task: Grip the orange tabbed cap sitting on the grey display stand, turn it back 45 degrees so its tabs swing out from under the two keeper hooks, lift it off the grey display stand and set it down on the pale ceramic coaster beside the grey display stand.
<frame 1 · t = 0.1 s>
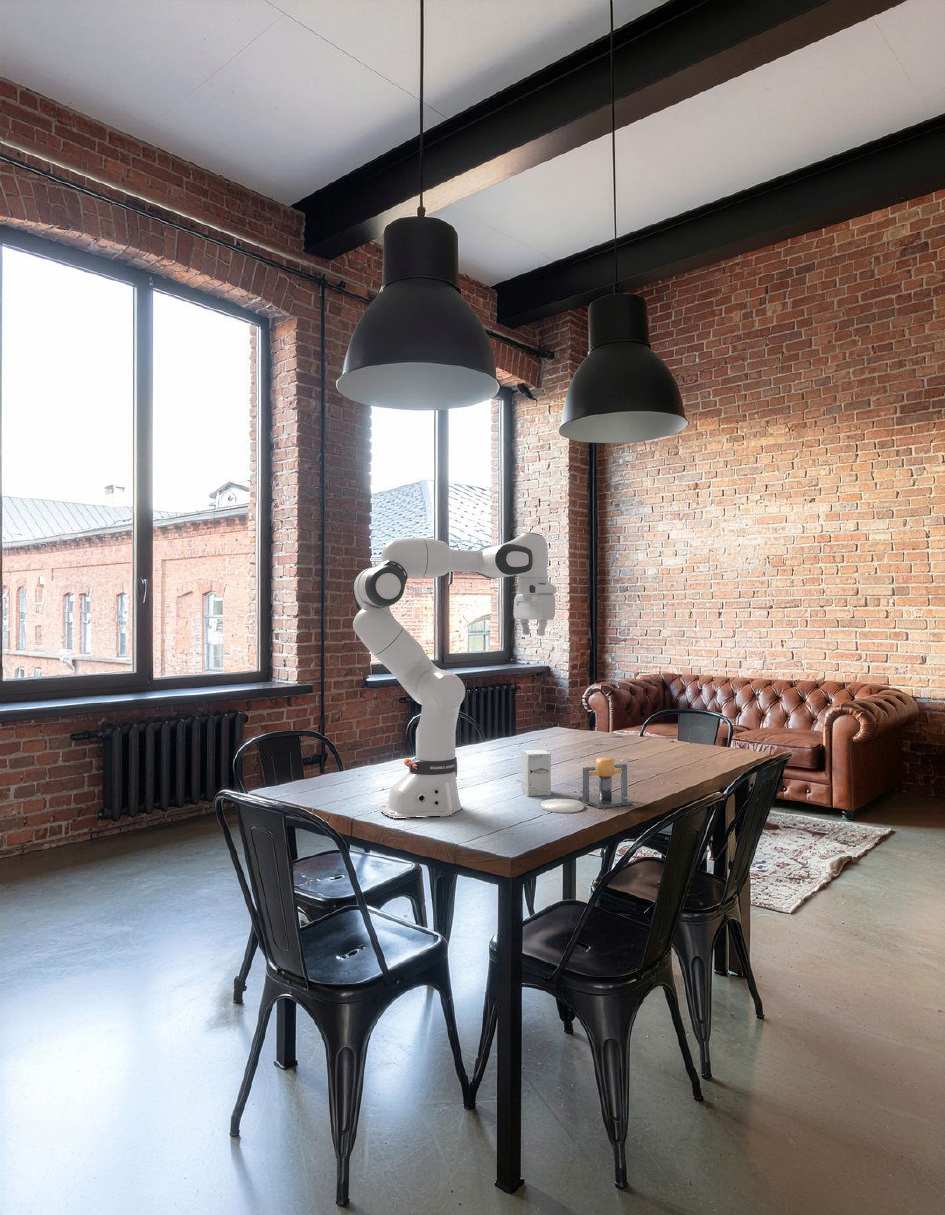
hand: (533, 635, 230), 48 cm above the table, tool pointing down, fingers open, 8 cm apart
grey display stand: (605, 802, 225), on the table
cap: (605, 774, 225), point 8 cm above the table, touching grey display stand
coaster: (562, 807, 219), on the table
supplement box: (536, 794, 236), on the table
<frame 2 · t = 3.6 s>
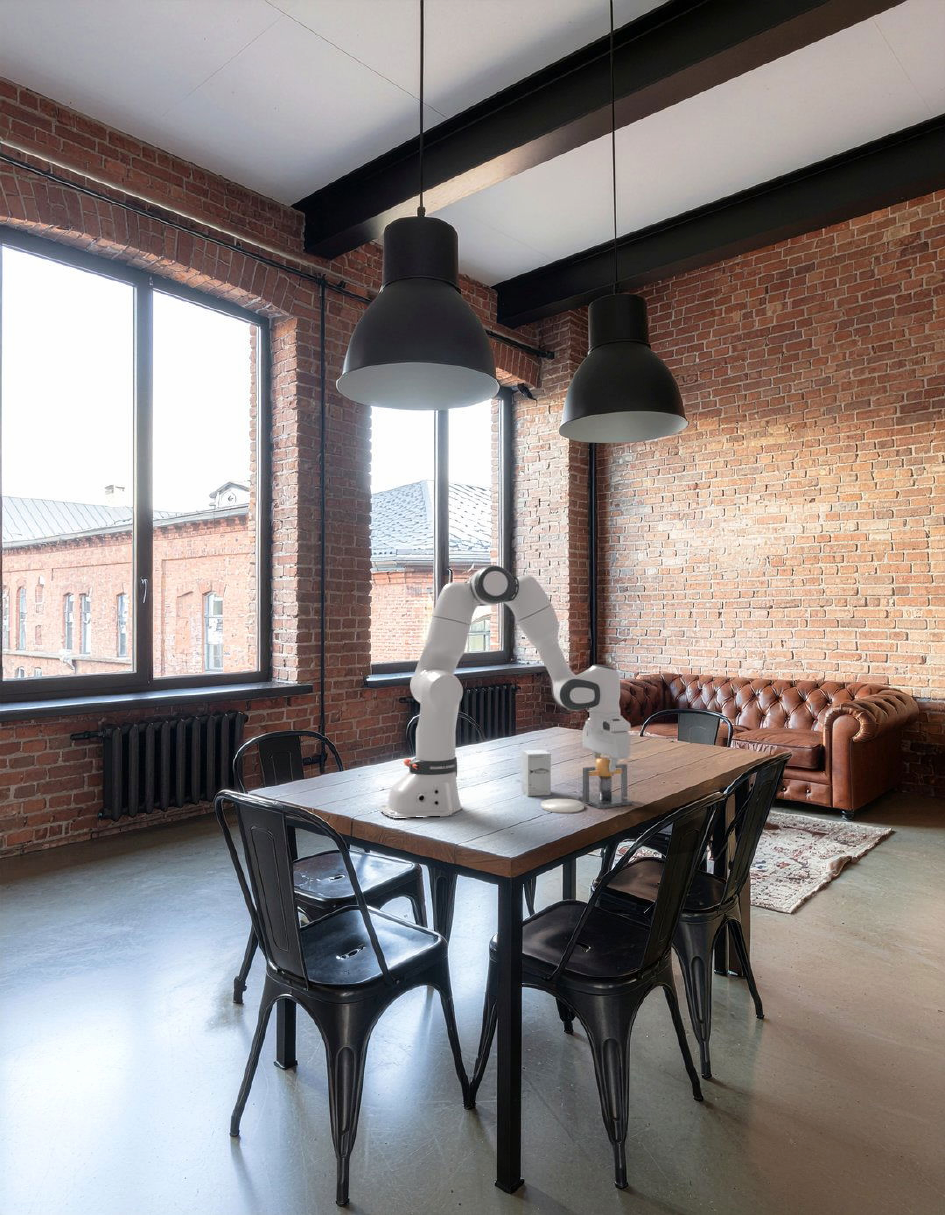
hand: (605, 769, 225), 9 cm above the table, tool pointing down, fingers closed on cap, 5 cm apart
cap: (605, 774, 225), point 8 cm above the table, touching gripper, grey display stand
everything else where it was.
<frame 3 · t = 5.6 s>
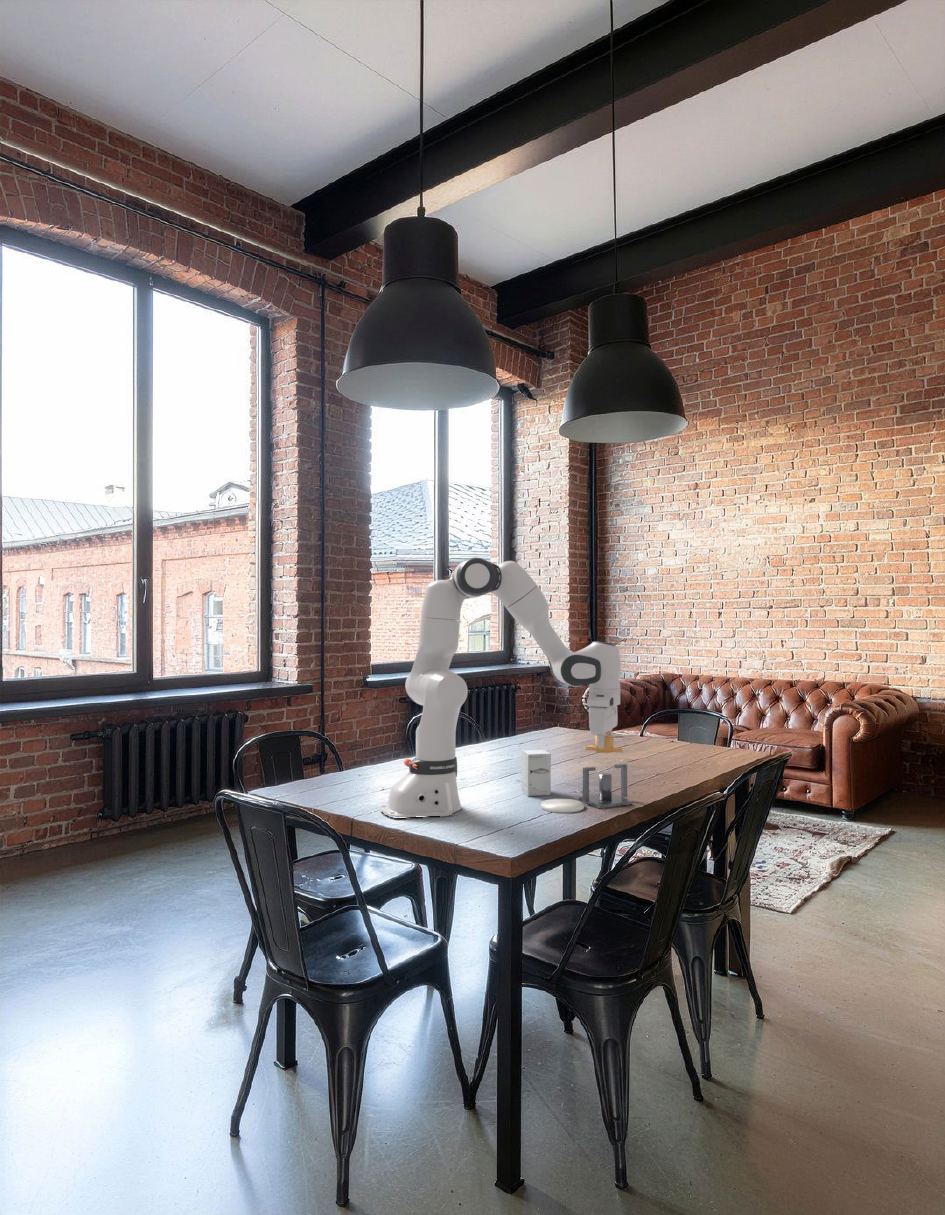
hand: (604, 746, 224), 16 cm above the table, tool pointing down, fingers closed on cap, 5 cm apart
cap: (604, 751, 224), point 15 cm above the table, touching gripper
everything else where it was.
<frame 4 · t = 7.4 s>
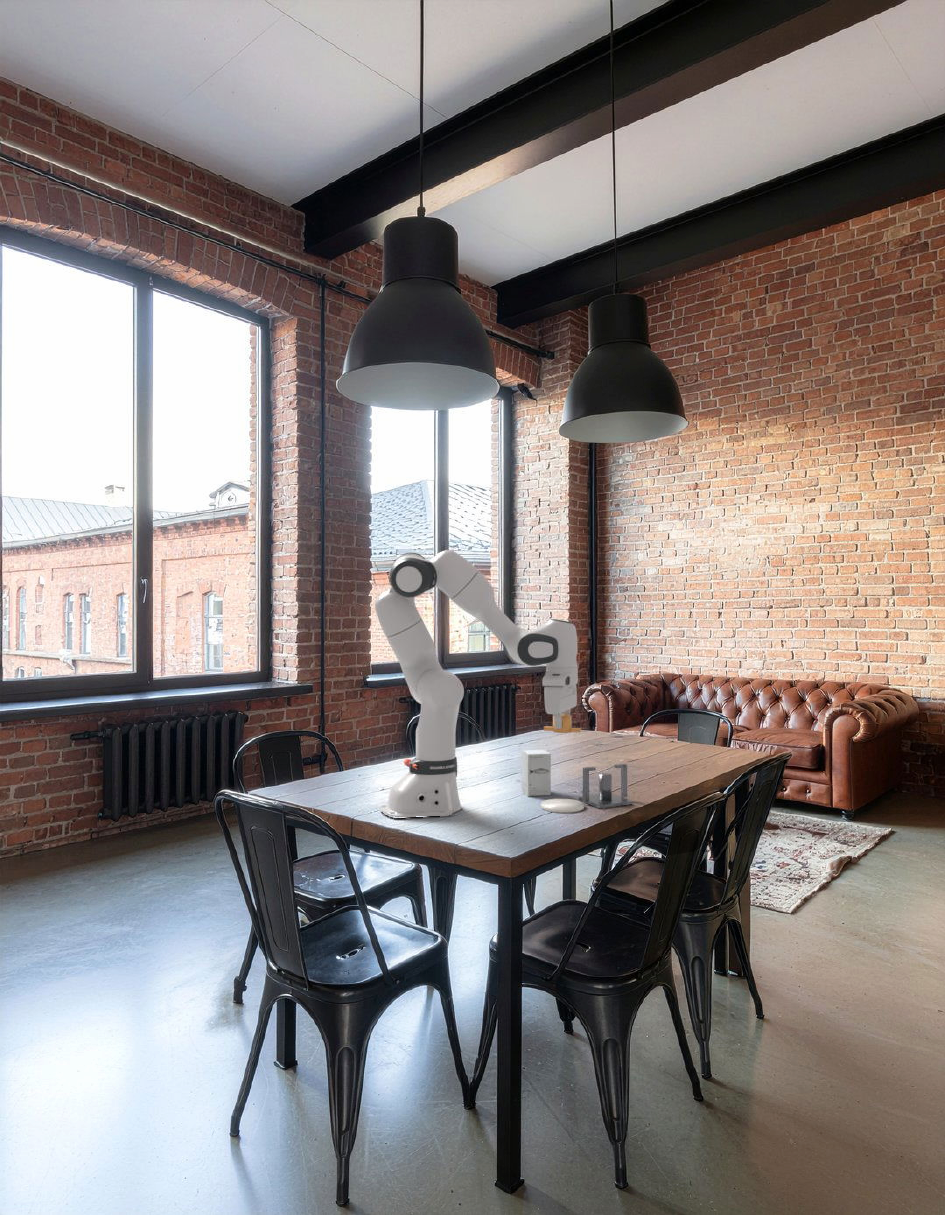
hand: (562, 726, 219), 23 cm above the table, tool pointing down, fingers closed on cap, 5 cm apart
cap: (562, 731, 219), point 21 cm above the table, touching gripper
everything else where it was.
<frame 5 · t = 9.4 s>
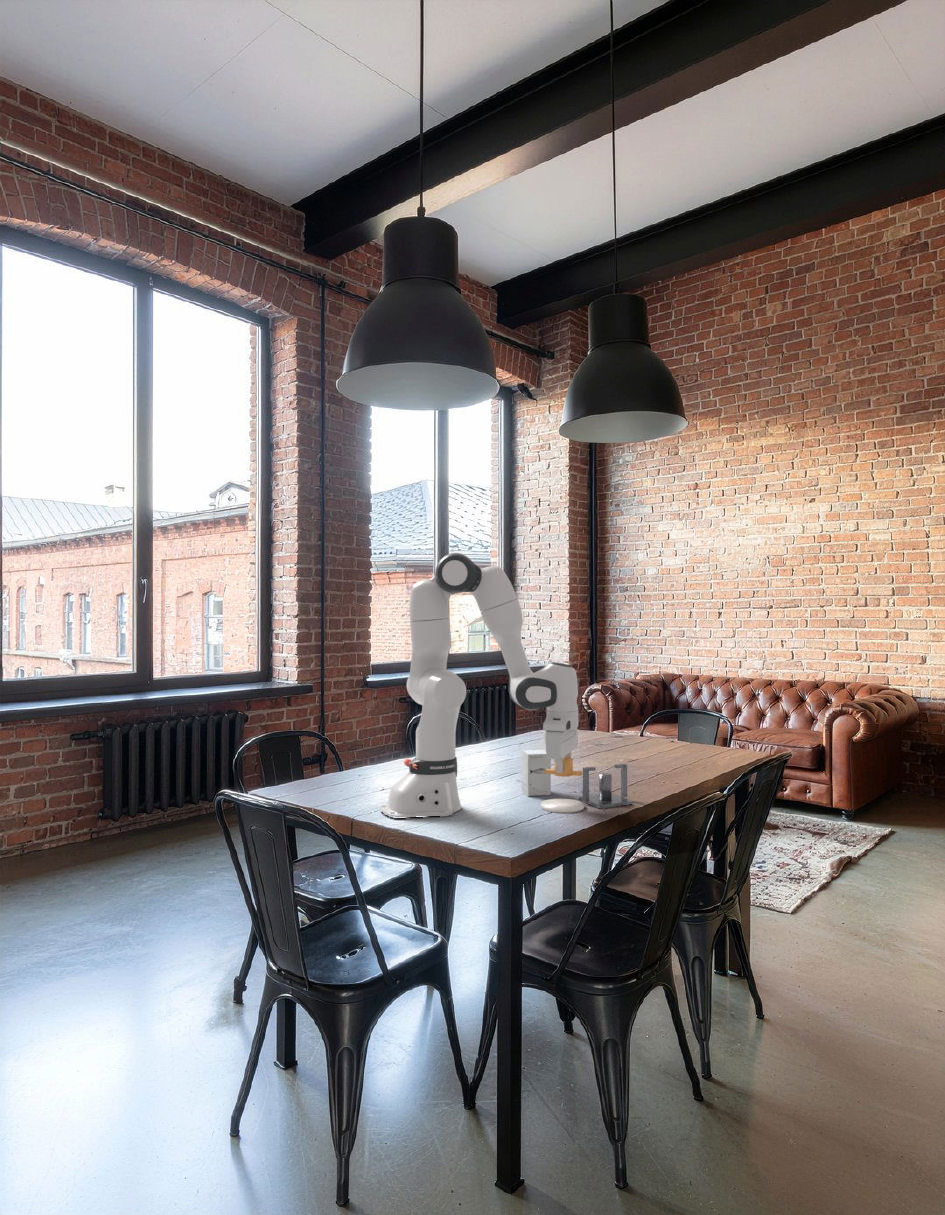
hand: (563, 769, 219), 11 cm above the table, tool pointing down, fingers closed on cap, 5 cm apart
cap: (563, 774, 219), point 9 cm above the table, touching gripper
everything else where it was.
when the fingers open (4 cm above the table, at t = 11.2 s): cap drops 2 cm, resting on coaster.
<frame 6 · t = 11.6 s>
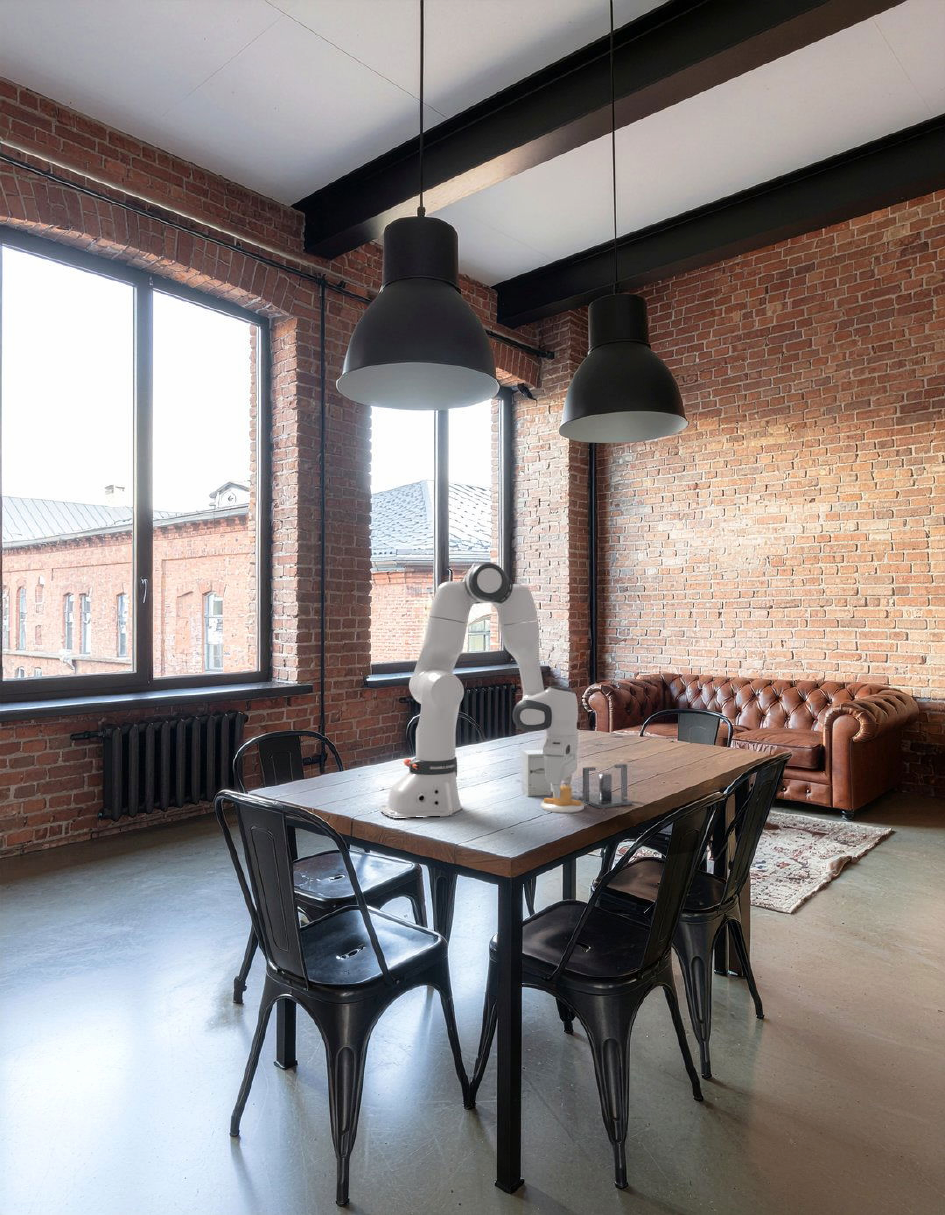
hand: (562, 793, 219), 4 cm above the table, tool pointing down, fingers open, 8 cm apart
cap: (562, 803, 219), point 1 cm above the table, touching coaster
everything else where it was.
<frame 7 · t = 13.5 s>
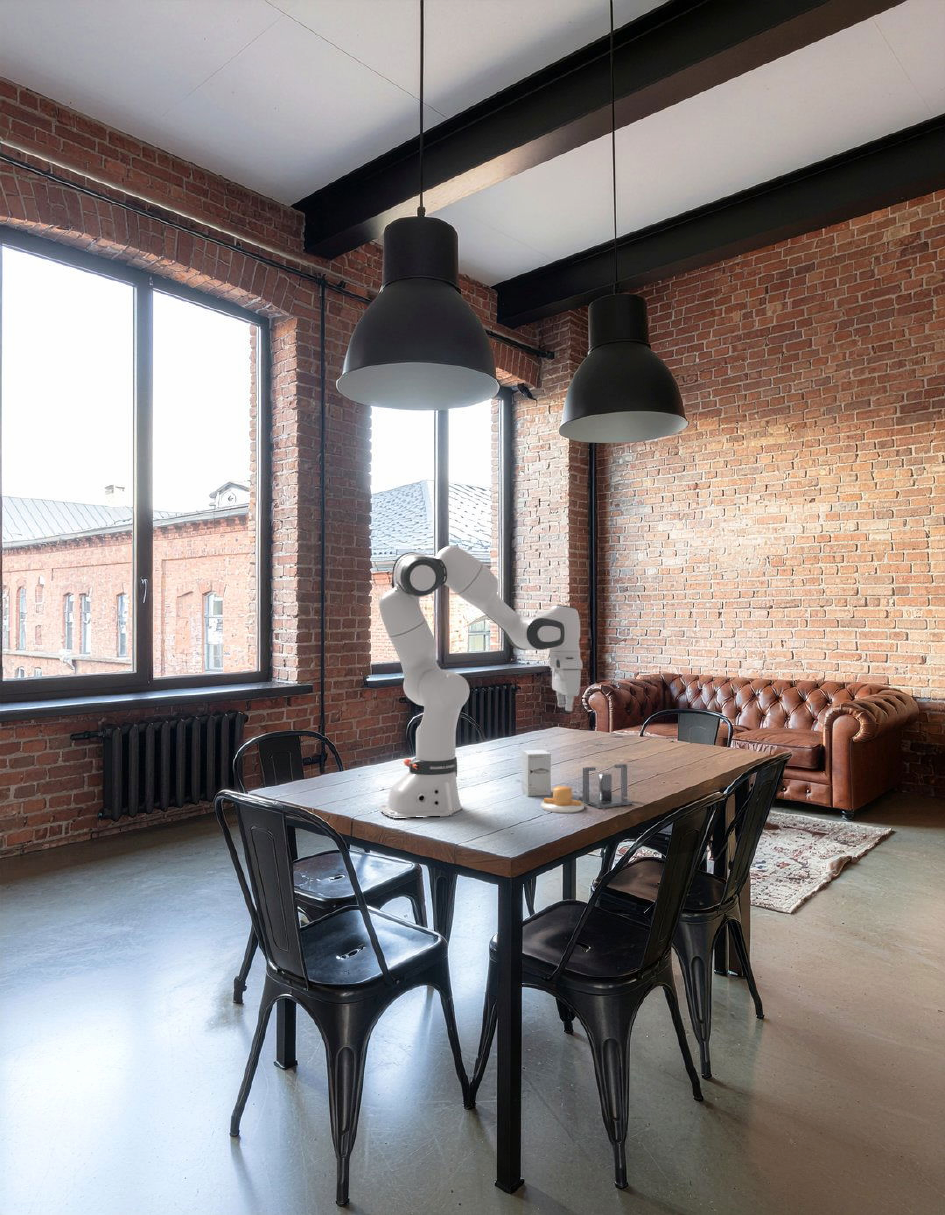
hand: (564, 708, 227), 27 cm above the table, tool pointing down, fingers open, 8 cm apart
nothing on the table moved.
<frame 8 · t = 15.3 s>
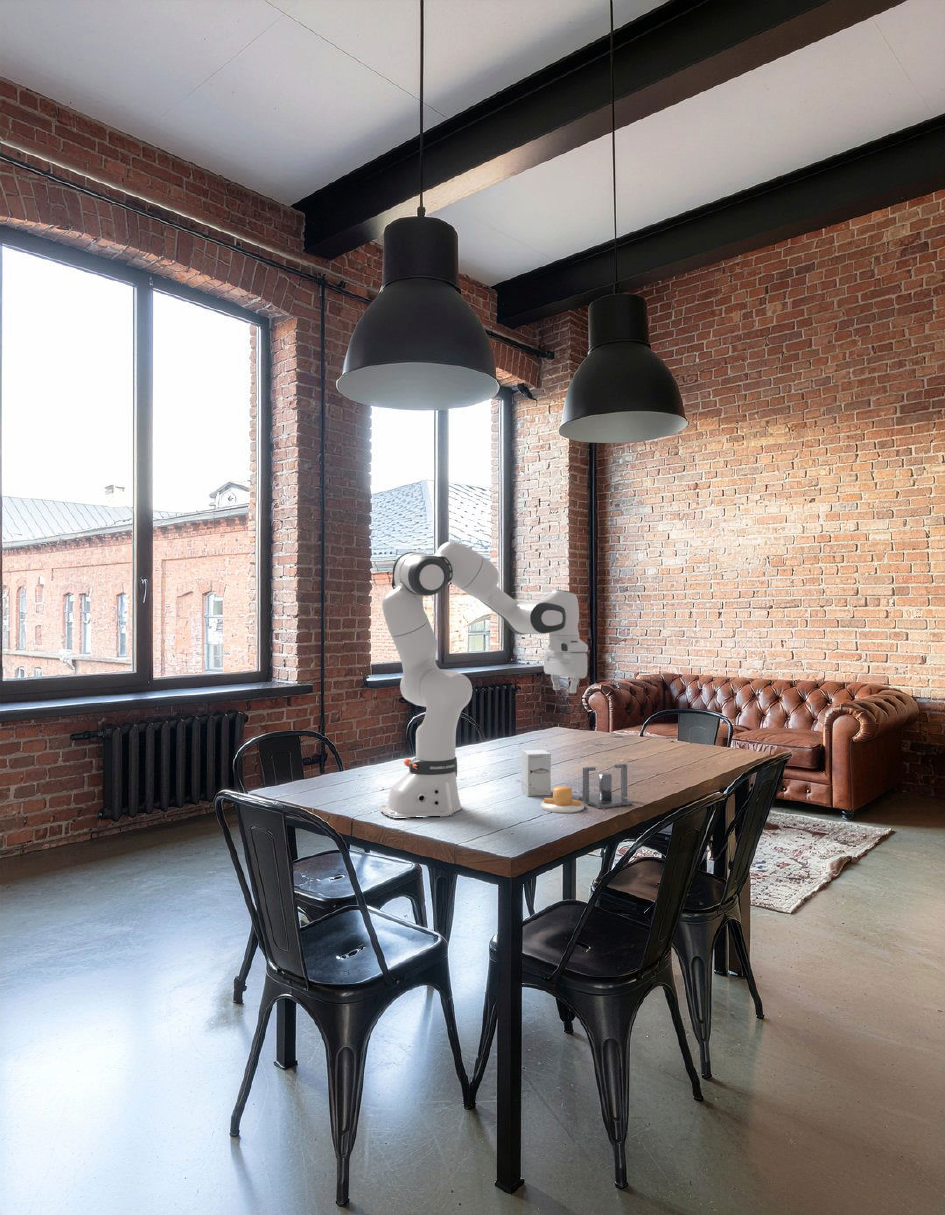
hand: (564, 691, 232), 31 cm above the table, tool pointing down, fingers open, 8 cm apart
nothing on the table moved.
at the end: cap 0.0 cm from the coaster (horizontally); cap point 1.0 cm above the table; the gripper is holding nothing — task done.
